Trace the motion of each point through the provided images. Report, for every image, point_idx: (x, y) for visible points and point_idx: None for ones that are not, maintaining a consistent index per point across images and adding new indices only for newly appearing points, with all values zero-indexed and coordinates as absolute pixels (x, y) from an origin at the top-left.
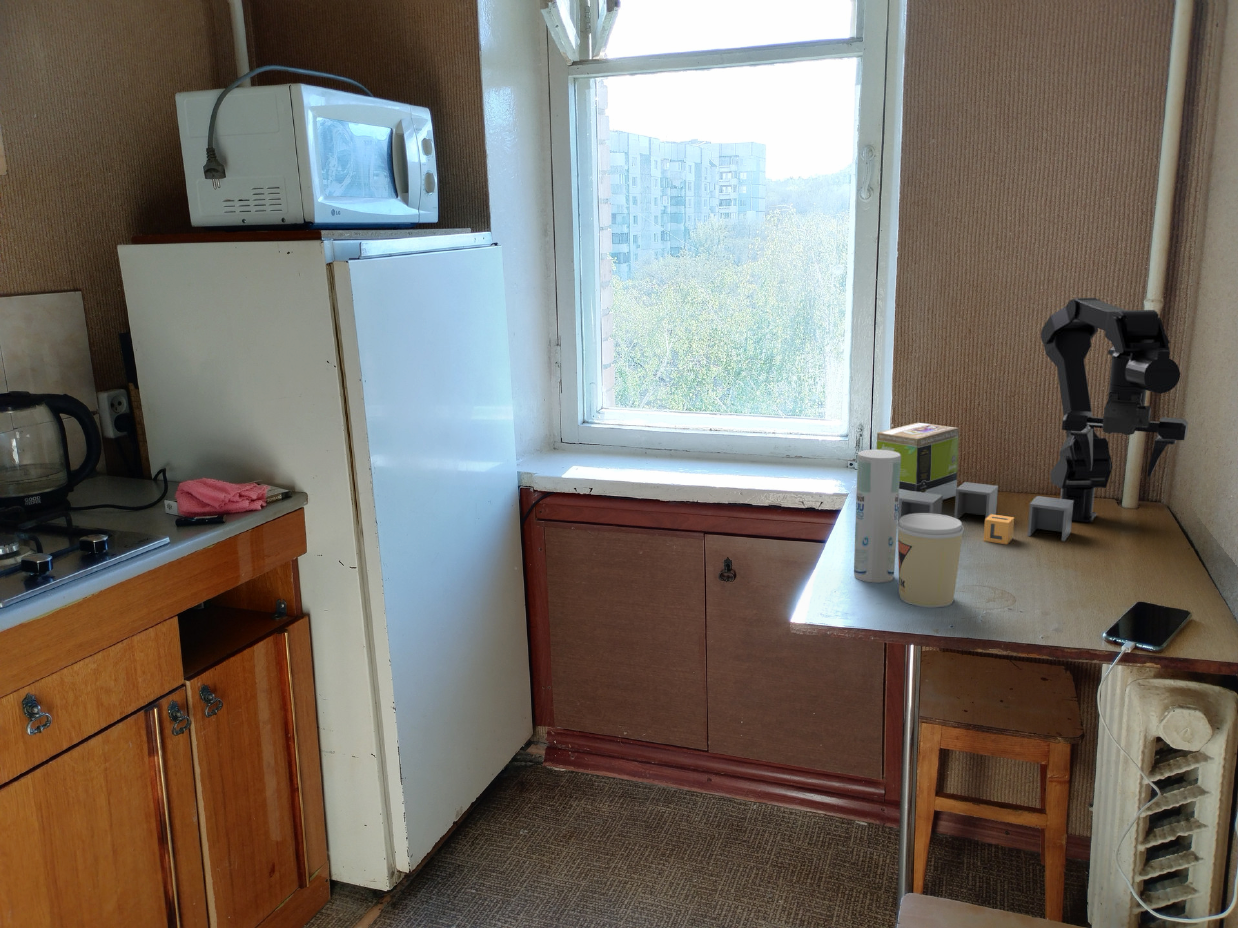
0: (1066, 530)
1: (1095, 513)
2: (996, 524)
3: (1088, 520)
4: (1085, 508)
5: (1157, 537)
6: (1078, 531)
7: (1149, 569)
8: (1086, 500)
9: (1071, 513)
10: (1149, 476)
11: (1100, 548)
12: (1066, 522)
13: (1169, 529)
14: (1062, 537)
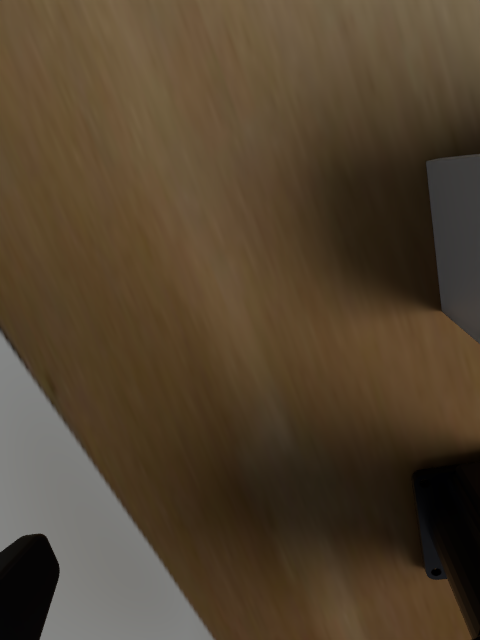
0: (443, 193)
1: (427, 565)
2: None
3: (423, 474)
4: (459, 521)
5: (173, 446)
6: (419, 345)
7: (12, 10)
8: (474, 552)
9: (477, 314)
10: (22, 536)
11: (269, 168)
12: (460, 170)
13: (183, 548)
14: (441, 158)
